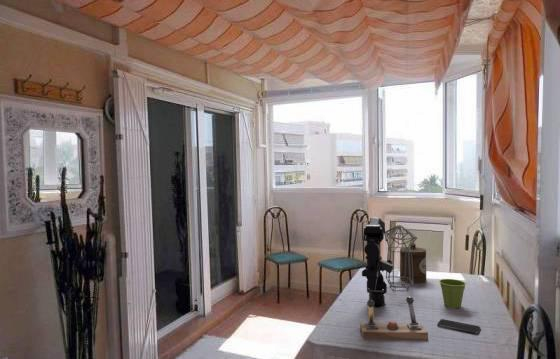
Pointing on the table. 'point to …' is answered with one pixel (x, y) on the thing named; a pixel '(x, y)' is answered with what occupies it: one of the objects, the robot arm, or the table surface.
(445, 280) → the plant pot
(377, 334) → the switch panel
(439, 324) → the phone
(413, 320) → the graphite lever
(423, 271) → the wooden container
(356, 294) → the table surface
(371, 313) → the dark gray metal lever
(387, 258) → the geometric lantern
